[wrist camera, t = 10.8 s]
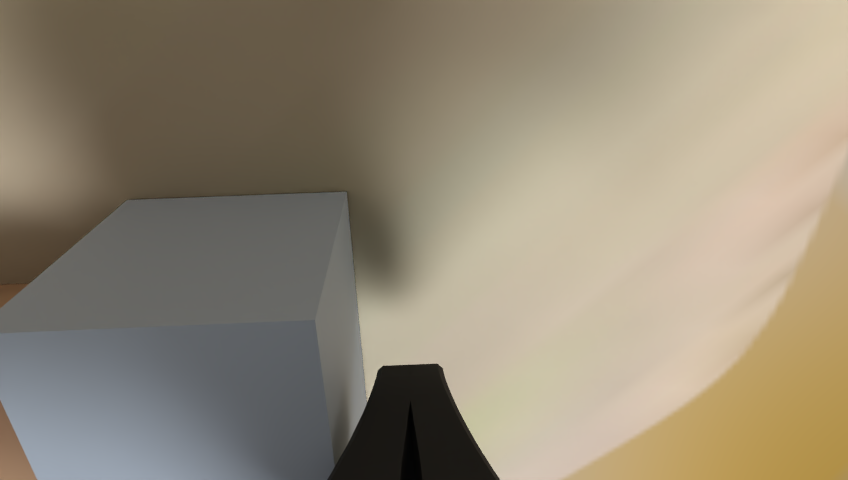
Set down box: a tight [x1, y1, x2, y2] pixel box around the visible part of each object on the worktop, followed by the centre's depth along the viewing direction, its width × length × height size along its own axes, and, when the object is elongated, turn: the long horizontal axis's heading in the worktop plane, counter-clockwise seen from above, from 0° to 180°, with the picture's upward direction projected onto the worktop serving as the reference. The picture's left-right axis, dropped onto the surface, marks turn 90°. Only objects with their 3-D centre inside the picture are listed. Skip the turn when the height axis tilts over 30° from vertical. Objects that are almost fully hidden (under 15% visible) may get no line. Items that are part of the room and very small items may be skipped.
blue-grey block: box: [0, 192, 367, 480], centre depth 12 cm, size 7×5×5 cm
